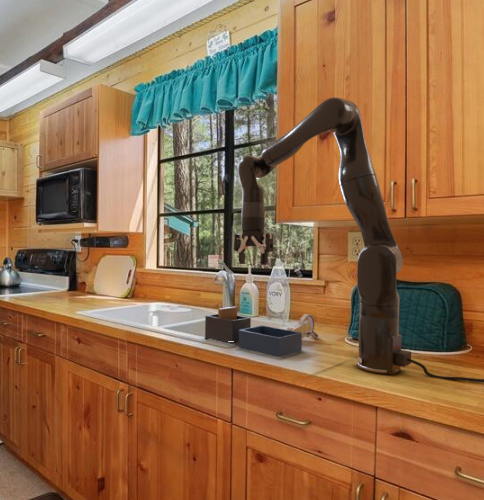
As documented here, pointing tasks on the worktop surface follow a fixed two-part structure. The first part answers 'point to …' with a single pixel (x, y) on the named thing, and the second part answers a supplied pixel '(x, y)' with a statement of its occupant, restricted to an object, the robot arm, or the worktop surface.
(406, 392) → the worktop surface
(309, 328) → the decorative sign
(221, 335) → the upper tote
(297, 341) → the box
